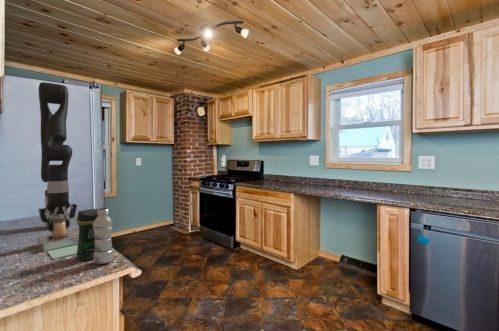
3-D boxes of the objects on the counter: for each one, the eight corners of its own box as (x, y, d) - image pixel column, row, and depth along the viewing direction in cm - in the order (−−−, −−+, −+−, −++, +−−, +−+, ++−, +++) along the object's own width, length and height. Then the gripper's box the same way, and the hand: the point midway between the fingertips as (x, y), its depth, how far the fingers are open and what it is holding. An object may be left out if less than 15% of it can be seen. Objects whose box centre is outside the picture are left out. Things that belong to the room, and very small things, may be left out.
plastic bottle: (105, 267, 93) (104, 211, 92) (88, 265, 94) (88, 210, 93) (117, 260, 99) (117, 207, 98) (102, 258, 101) (101, 206, 100)
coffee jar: (81, 263, 96) (80, 213, 95) (74, 257, 101) (73, 209, 100) (109, 256, 103) (109, 209, 102) (101, 250, 108) (101, 206, 108)
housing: (37, 244, 113) (37, 236, 113) (70, 238, 122) (70, 231, 122) (43, 252, 105) (43, 243, 105) (78, 244, 114) (78, 237, 114)
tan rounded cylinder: (49, 241, 114) (49, 220, 113) (63, 238, 118) (62, 218, 118) (54, 243, 111) (54, 222, 110) (68, 240, 115) (68, 220, 115)
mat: (47, 252, 105) (47, 251, 105) (76, 246, 113) (76, 245, 113) (53, 259, 99) (53, 258, 99) (83, 252, 106) (83, 251, 106)
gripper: (72, 188, 121) (73, 224, 122) (34, 191, 109) (35, 232, 110) (80, 190, 117) (80, 227, 118) (41, 193, 105) (42, 235, 106)
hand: (58, 229), depth 114 cm, fingers closed on tan rounded cylinder, 5 cm apart
